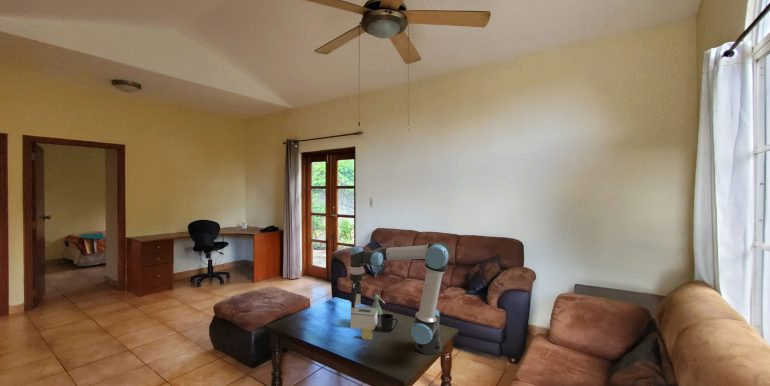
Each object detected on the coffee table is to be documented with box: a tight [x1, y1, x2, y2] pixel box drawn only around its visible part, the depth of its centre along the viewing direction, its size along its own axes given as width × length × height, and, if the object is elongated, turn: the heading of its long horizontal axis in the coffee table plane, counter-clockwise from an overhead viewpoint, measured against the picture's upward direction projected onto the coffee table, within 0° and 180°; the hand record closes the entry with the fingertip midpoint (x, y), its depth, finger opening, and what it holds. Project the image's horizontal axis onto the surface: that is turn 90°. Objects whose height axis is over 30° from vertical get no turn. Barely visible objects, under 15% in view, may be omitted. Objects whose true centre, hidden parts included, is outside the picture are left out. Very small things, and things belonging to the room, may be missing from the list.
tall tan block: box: [361, 327, 374, 341], centre depth 201 cm, size 6×3×6 cm, turn 81°
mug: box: [380, 313, 399, 333], centre depth 212 cm, size 8×12×10 cm
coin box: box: [350, 306, 378, 331], centre depth 219 cm, size 16×12×10 cm
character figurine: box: [365, 291, 386, 318], centre depth 236 cm, size 16×8×18 cm, turn 65°
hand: (355, 308), depth 192 cm, fingers open, 13 cm apart
